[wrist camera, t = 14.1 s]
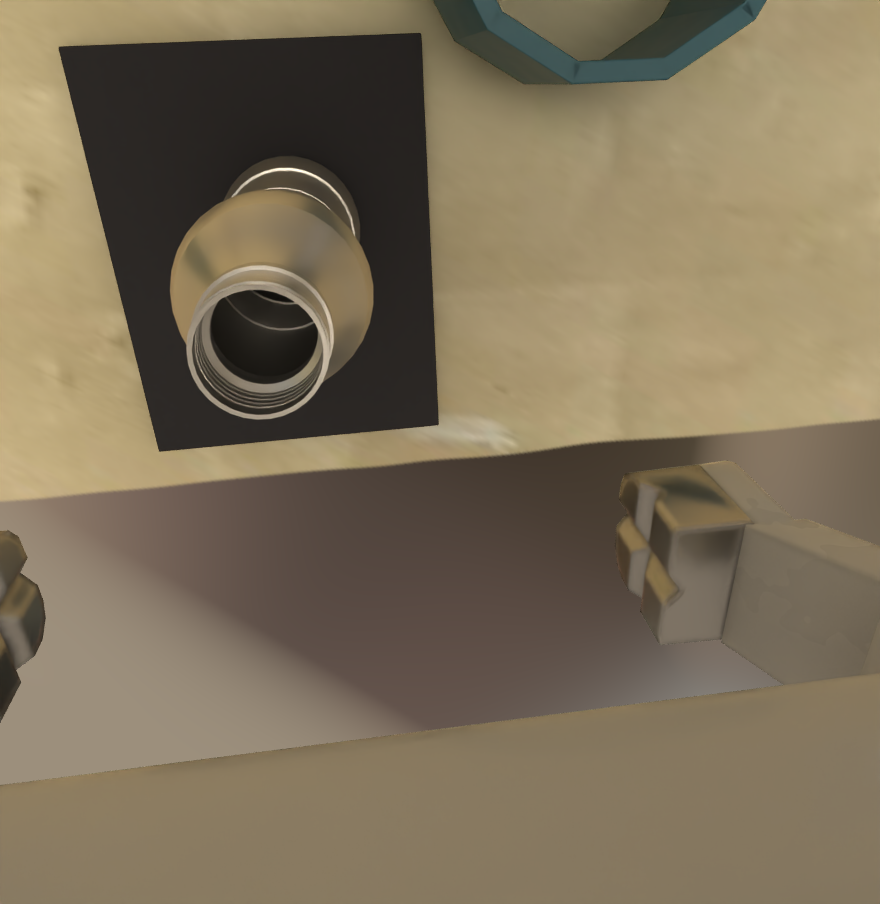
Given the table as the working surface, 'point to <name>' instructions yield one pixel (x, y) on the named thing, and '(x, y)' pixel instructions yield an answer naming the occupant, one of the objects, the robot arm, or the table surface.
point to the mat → (219, 165)
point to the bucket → (640, 59)
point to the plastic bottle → (272, 288)
